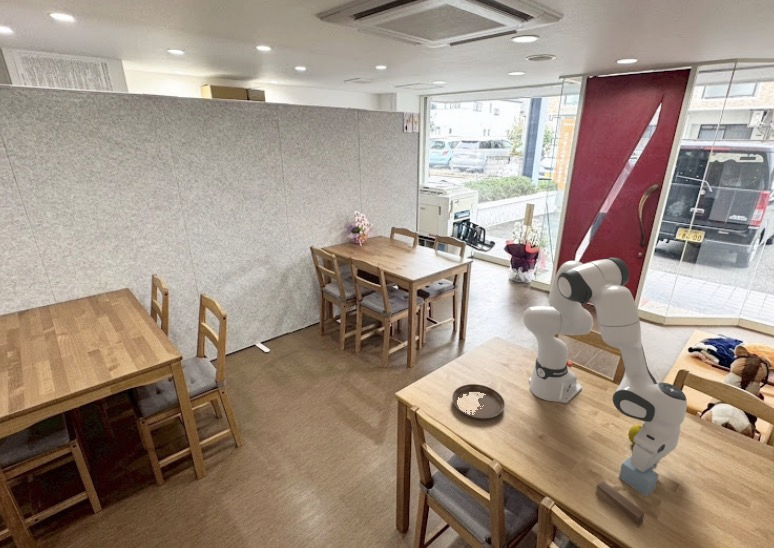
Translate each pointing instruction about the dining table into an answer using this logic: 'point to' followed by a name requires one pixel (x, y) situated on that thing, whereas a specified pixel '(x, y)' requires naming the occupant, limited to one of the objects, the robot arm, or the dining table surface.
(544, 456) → the dining table surface
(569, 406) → the dining table surface
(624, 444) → the dining table surface
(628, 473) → the block
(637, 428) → the lemon
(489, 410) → the plant saucer
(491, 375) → the dining table surface
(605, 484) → the brown rectangular bar
